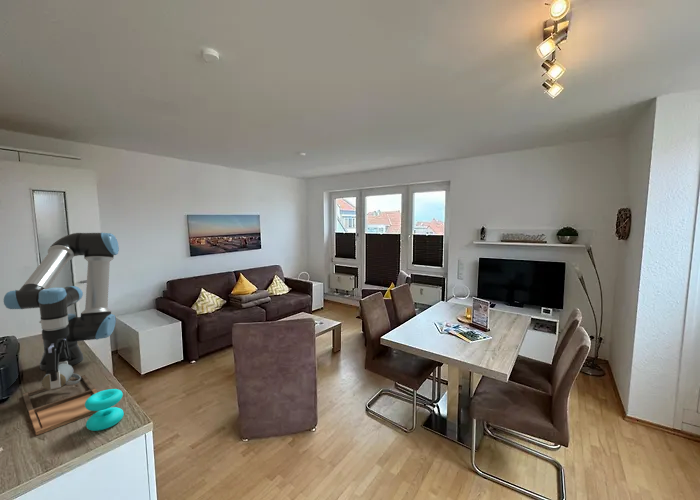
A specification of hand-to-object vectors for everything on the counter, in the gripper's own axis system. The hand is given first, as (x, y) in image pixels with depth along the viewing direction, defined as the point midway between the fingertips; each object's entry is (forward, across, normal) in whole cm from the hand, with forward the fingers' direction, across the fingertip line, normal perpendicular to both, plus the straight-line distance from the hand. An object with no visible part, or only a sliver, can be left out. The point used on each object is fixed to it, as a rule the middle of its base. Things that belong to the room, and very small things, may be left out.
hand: (60, 382), depth 118 cm
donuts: (+4, +30, +20) cm, 37 cm away
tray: (+5, +8, +3) cm, 10 cm away
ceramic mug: (+2, 0, +1) cm, 2 cm away
